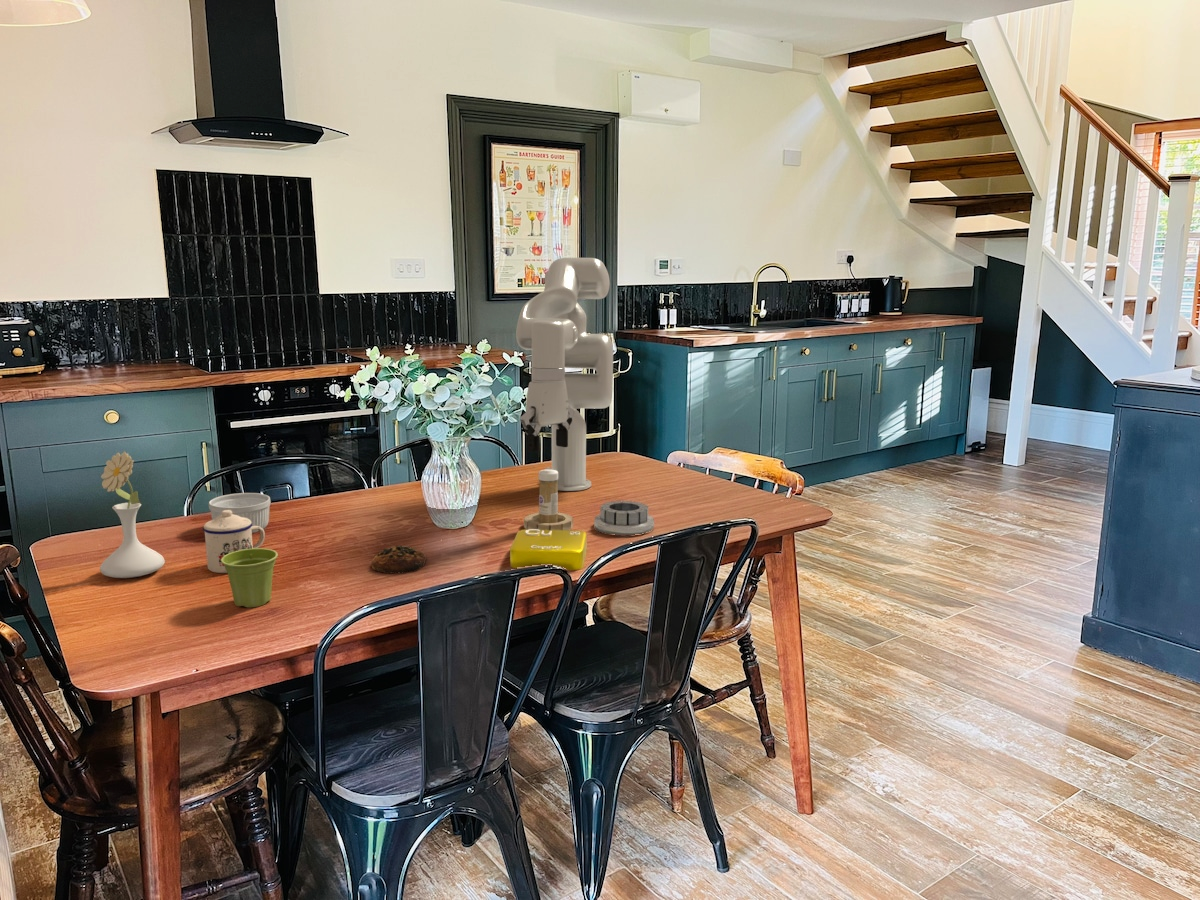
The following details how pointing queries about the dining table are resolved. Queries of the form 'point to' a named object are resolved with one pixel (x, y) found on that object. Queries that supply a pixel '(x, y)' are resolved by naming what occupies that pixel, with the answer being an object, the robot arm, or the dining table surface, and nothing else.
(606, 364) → the robot arm
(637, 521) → the hub
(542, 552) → the element tile
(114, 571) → the flower in vase
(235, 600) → the plant pot
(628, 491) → the dining table surface
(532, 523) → the beige flat ring
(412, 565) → the bread roll
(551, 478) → the sprinkles bottle
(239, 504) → the ramekin
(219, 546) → the teacup with lid
